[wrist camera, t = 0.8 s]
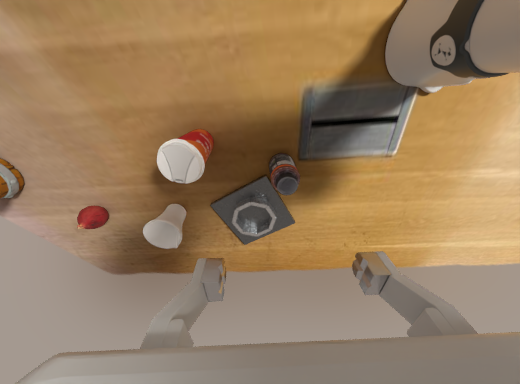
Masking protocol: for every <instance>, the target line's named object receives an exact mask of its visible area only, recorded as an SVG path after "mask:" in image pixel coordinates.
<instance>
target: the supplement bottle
mask: <svg viewBox="0 0 520 384" xmlns="http://www.w3.org/2000/svg"><path fill="white" fill-rule="evenodd" d="M269 171H270V178H271V183H272V186H273V187H274V188H275V189H276V190H277V191H279V192H280V193H281V194H283V195H290V194H293V193H294V192H295V191H296V190H297V188H298V185H299V182H300V175H299V172H298V170H297V168H296V166H295V163H294V161H293V159H292V158H291V157H290V156H289V155H288V154H285V153H279V154H276V155H275V156H273V157H272V158H271V160H270V162H269Z"/></svg>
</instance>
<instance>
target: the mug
mask: <svg viewBox="0 0 520 384" xmlns="http://www.w3.org/2000/svg"><path fill="white" fill-rule="evenodd" d="M24 184H25V183H24V178H23V176H22V175H21V174H20V172H19V171H18V170H17V169H14V166H12V165H11V164H10V163H9V162H7V161H5V160H3V159H1V158H0V198H11V197H13V196H14V194H16V193H17V192H18V191H20V190H22V189H23V185H24Z"/></svg>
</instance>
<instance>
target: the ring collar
mask: <svg viewBox="0 0 520 384" xmlns="http://www.w3.org/2000/svg"><path fill="white" fill-rule="evenodd" d="M210 206H211V207H212V208H213V209H214V210H215V211H216V212H217V214H218V215H219V216H220V217H221V218H222V219H223V220H224V222H225V223H226V224H227V225H228V226H229V227H230V228H231V230H232V231H233V232H234V233H235V234H236V235H237V236H238V238H239V239H240V240H241V241H242V242H243V243H244V244H248V243H250V242H252V241H255V240H257V239H259V238H262V237H264V236H266V235H269V234H271V233H273V232H275V231H278V230H280V229H282V228H285V227H287V226H289V225H292V224H294V223H295V220H294V219H293V217H292V215H291V214H290V212H289V211H288V209H287V207H286V206H285V204H284V203H283V201H282V199H281V198H280V196H279V195H278V193H277V191H276V190H275V188H274V187H273V186H272V183H271V182H270V180H269V179H268V177H267V175H264V176H262V177H260V178H258V179H256V180H254V181H252V182H251V183H249V184H247V185H245V186H243V187H241V188H239V189H237V190H235V191H234V192H232V193H230V194H228V195H226V196H224V197H222V198H220V199H218V200H216V201H215V202H213V203H211V205H210Z"/></svg>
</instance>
